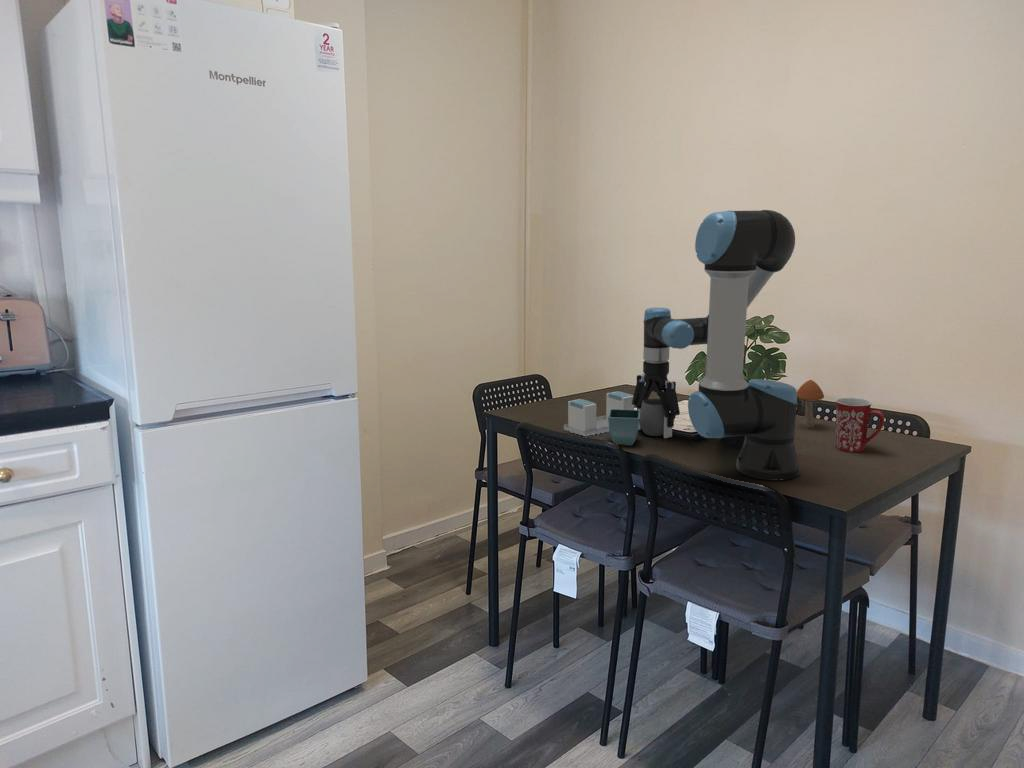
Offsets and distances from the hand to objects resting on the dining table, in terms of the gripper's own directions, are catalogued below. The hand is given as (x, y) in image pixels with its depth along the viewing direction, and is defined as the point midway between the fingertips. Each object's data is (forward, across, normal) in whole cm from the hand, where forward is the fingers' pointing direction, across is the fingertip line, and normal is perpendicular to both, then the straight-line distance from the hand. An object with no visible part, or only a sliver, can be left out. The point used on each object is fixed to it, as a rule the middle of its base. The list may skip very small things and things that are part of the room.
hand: (654, 432), depth 213 cm
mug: (0, -44, -33) cm, 55 cm away
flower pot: (+1, -1, +13) cm, 13 cm away
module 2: (-1, +15, 0) cm, 15 cm away
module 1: (-1, +15, +16) cm, 22 cm away
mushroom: (0, -24, -41) cm, 47 cm away
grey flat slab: (0, +15, +8) cm, 17 cm away
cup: (0, 0, 0) cm, 0 cm away
